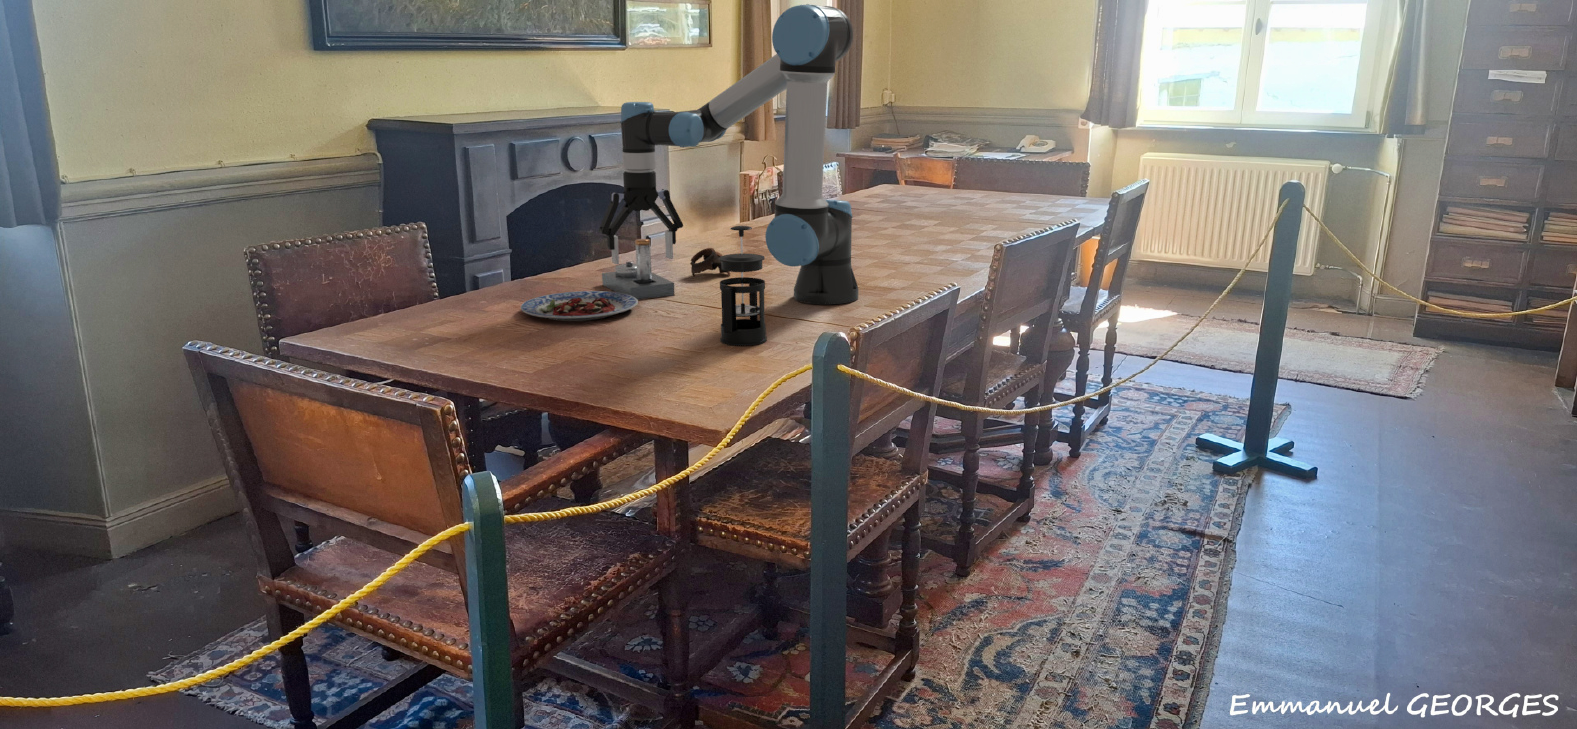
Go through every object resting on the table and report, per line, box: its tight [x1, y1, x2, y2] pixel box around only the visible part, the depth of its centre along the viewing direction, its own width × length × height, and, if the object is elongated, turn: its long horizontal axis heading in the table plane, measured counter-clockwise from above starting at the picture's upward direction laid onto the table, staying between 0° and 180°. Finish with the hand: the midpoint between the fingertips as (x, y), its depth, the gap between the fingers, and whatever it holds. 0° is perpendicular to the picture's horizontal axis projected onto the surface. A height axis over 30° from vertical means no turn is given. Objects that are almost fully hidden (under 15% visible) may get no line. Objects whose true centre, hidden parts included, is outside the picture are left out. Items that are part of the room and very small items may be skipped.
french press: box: [719, 225, 768, 347], centre depth 214 cm, size 12×9×23 cm
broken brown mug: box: [689, 247, 731, 278], centre depth 280 cm, size 12×10×8 cm
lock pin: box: [634, 238, 653, 284], centre depth 258 cm, size 4×4×13 cm
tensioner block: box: [601, 261, 675, 301], centre depth 263 cm, size 20×11×6 cm, turn 28°
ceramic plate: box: [520, 290, 639, 322], centre depth 242 cm, size 26×26×3 cm
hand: (642, 260), depth 258 cm, fingers open, 13 cm apart
